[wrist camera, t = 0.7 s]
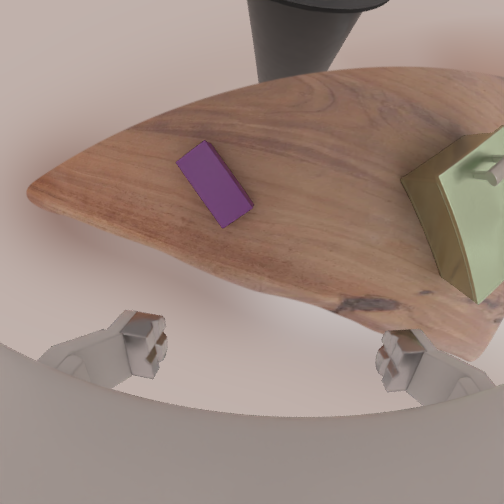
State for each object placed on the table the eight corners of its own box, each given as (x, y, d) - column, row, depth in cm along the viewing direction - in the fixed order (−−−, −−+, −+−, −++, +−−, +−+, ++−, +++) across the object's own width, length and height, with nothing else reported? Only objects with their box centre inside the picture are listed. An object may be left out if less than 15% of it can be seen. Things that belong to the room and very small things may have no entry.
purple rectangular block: (183, 163, 31) (175, 162, 28) (210, 142, 30) (204, 139, 27) (226, 224, 33) (222, 229, 30) (254, 205, 32) (253, 208, 29)
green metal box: (399, 179, 30) (437, 183, 21) (463, 135, 27) (503, 131, 19) (440, 276, 33) (474, 302, 24) (496, 228, 30) (532, 242, 22)
